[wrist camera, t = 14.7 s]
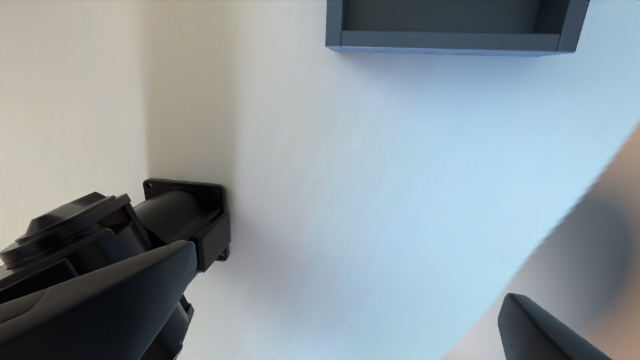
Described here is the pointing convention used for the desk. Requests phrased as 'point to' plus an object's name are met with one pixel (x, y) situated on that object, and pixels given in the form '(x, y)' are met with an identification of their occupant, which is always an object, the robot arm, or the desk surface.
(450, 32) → the tote
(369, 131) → the desk surface
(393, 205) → the desk surface
